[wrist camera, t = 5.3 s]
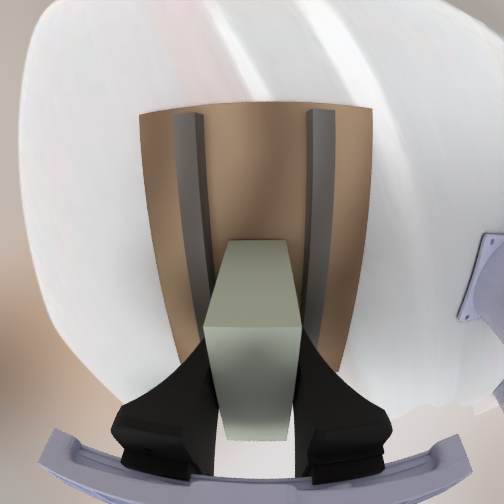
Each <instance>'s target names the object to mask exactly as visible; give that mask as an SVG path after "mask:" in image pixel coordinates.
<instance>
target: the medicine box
mask: <svg viewBox="0 0 504 504" xmlns="http://www.w3.org/2000/svg"><path fill="white" fill-rule="evenodd" d="M493 394H494V395H495V397H496V399H497V401H498V403H499V405H500V406H501V408H502V410H503V412H504V380H503V381H502V382H501V384H500V385H499V386H498V387H497V388H496V389H495V391H494V392H493Z"/></svg>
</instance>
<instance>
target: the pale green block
mask: <svg viewBox="0 0 504 504" xmlns="http://www.w3.org/2000/svg"><path fill="white" fill-rule="evenodd" d="M203 329H204V335H205V340H206V346H207V351H208V356H209V361H210V366H211V371H212V376H213V381H214V386H215V390H216V395H217V400H218V404H219V408H220V413H221V417H222V421H223V425H224V429H225V433H226V437H227V440H235V441H286V439H287V433H288V428H289V421H290V416H291V409H292V403H293V396H294V389H295V381H296V374H297V366H298V358H299V349H300V341H301V331H302V324H301V318H300V312H299V307H298V301H297V296H296V290H295V285H294V279H293V274H292V269H291V264H290V258H289V253H288V248H287V243H286V240H230V241H228V244H227V248H226V251H225V254H224V257H223V261H222V264H221V267H220V271H219V274H218V277H217V281H216V284H215V287H214V291H213V294H212V298H211V301H210V304H209V308H208V311H207V315H206V318H205V322H204V325H203Z"/></svg>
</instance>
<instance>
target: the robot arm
mask: <svg viewBox="0 0 504 504" xmlns="http://www.w3.org/2000/svg"><path fill="white" fill-rule="evenodd" d="M479 318H483V319H484V321H485V322H486V323H487V324H488V325H489V326H490V328H491V329H492V330H493V331H494V333H495V334H496V335H497V336H498V337H499V339H500V340H501V341H502V343H503V344H504V235H501V234H486V235H485V236H484V237H483V239H482V243H481V247H480V251H479V255H478V259H477V262H476V266H475V269H474V272H473V276H472V279H471V282H470V285H469V288H468V291H467V294H466V296H465V299H464V302H463V305H462V307H461V310H460V312H459V315H458V320H459V322H465V321H469V320H474V319H479ZM293 410H294V426H295V427H294V428H295V478H285V479H243V478H226V477H215V476H214V457H215V441H216V429H217V420H218V412H219V404H218V400H217V395H216V390H215V386H214V381H213V376H212V371H211V366H210V361H209V356H208V351H207V346H206V340H205V336H204V337H203V339H202V340H201V341H200V343H199V344H198V345H197V347H196V348H195V349H194V351H193V352H192V353H191V354H190V355H189V357H188V358H187V359H186V360H185V361H184V362H183V363H182V364H181V365H180V366H179V367H178V368H177V369H176V370H175V371H174V372H173V373H172V374H171V375H170V376H169V377H168V378H166V379H165V380H164V381H163V382H161V383H160V384H159V385H157V386H156V387H155V388H153V389H152V390H150V391H149V392H147V393H146V394H144V395H142V396H141V397H139V398H137V399H135V400H133V401H131V402H129V403H127V404H125V405H123V406H121V408H120V410H119V412H118V413H117V415H116V417H115V420H114V422H113V425H112V427H111V433H112V435H113V437H114V438H115V439H116V440H117V441H118V442H119V444H120V445H121V446H122V447H123V448H124V452H123V455H122V458H119V457H116V456H113V455H110V454H107V453H104V452H101V451H98V450H95V449H93V448H90V447H87V446H85V445H82V444H81V443H80V442H79V440H78V439H76V438H75V437H74V436H72V435H70V434H68V433H66V432H63V431H61V430H59V429H57V428H55V429H54V430H53V432H52V434H51V436H50V438H49V440H48V442H47V444H46V446H45V449H44V451H43V453H42V455H41V457H40V459H39V461H38V464H39V465H40V466H41V467H43V468H44V469H45V470H47V471H48V472H49V473H51V474H52V475H54V476H55V477H56V478H58V479H59V480H61V481H62V482H64V483H65V484H67V485H70V486H71V487H73V488H75V489H77V490H79V491H81V492H84V493H86V494H88V495H90V496H93V497H95V498H97V499H99V500H101V501H104V502H106V503H109V504H417V503H419V502H422V501H424V500H427V499H429V498H431V497H434V496H436V495H438V494H440V493H442V492H444V491H446V490H448V489H449V488H451V487H453V486H454V485H456V484H457V483H459V482H460V481H462V480H463V479H465V478H466V477H467V476H469V475H470V474H472V472H473V471H472V468H471V466H470V463H469V460H468V457H467V455H466V452H465V449H464V447H463V445H462V442H461V439H460V437H459V435H458V434H456V435H453V436H451V437H448V438H446V439H443V440H441V441H439V442H437V443H436V444H435V445H433V446H432V447H431V448H430V450H428V451H426V452H423V453H420V454H417V455H414V456H411V457H408V458H404V459H401V460H397V461H394V462H390V463H386V464H384V460H383V456H382V455H383V454H384V448H383V444H384V443H385V442H386V440H387V439H388V438H389V437H390V435H391V434H392V425H391V422H390V420H389V418H388V416H387V414H386V412H385V410H384V409H382V408H380V407H378V406H377V405H375V404H373V403H371V402H370V401H368V400H367V399H365V398H364V397H362V396H361V395H360V394H358V393H357V392H356V391H355V390H353V389H352V388H351V387H350V386H349V385H347V384H346V383H345V382H344V381H343V380H342V379H341V378H340V377H339V376H338V375H337V374H336V373H335V372H334V371H333V370H332V368H331V367H330V366H329V365H328V364H327V362H326V361H325V360H324V359H323V357H322V356H321V355H320V353H319V352H318V350H317V349H316V347H315V346H314V344H313V343H312V341H311V339H310V338H309V336H308V334H307V332H306V330H305V328H304V326H303V325H302V331H301V341H300V349H299V358H298V366H297V374H296V381H295V389H294V396H293Z"/></svg>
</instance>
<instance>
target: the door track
mask: <svg viewBox="0 0 504 504" xmlns="http://www.w3.org/2000/svg"><path fill="white" fill-rule="evenodd" d="M139 124H140V141H141V154H142V166H143V176H144V185H145V193H146V201H147V209H148V216H149V223H150V229H151V235H152V241H153V247H154V253H155V258H156V264H157V269H158V274H159V279H160V284H161V288H162V293H163V297H164V302H165V306H166V310H167V314H168V319H169V323H170V327H171V330H172V334H173V338H174V342H175V345H176V349H177V353H178V356H179V360H180V363H181V364H182V363H183V362H184V361H185V360H186V359H187V358H188V357H189V355H190V354H191V353H192V352H193V351H194V349H195V348H196V347H197V345H198V344H199V343H200V341H201V340H202V339H203V337H204V336H205V335H204V329H203V325H204V322H205V318H206V315H207V311H208V308H209V304H210V301H211V298H212V294H213V291H214V287H215V284H216V281H217V277H218V274H219V271H220V267H221V264H222V261H223V257H224V254H225V251H226V248H227V244H228V241H230V240H286V243H287V248H288V253H289V258H290V264H291V269H292V274H293V279H294V285H295V290H296V296H297V301H298V307H299V312H300V318H301V324H302V325H303V326H304V328H305V330H306V332H307V334H308V336H309V338H310V339H311V341H312V343H313V344H314V346H315V347H316V349H317V350H318V352H319V353H320V355H321V356H322V357H323V359H324V360H325V361H326V362H327V364H328V365H329V366H330V367H331V368H332V370H333V371H334V372H338V371H339V368H340V364H341V360H342V356H343V353H344V349H345V345H346V341H347V336H348V332H349V328H350V323H351V319H352V314H353V309H354V304H355V299H356V294H357V289H358V283H359V278H360V272H361V265H362V259H363V252H364V245H365V237H366V229H367V220H368V210H369V199H370V186H371V169H372V138H373V116H372V109H371V108H363V107H355V106H346V105H336V104H324V103H307V102H241V103H224V104H212V105H201V106H192V107H184V108H177V109H170V110H163V111H157V112H151V113H146V114H141V115H139Z"/></svg>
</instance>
